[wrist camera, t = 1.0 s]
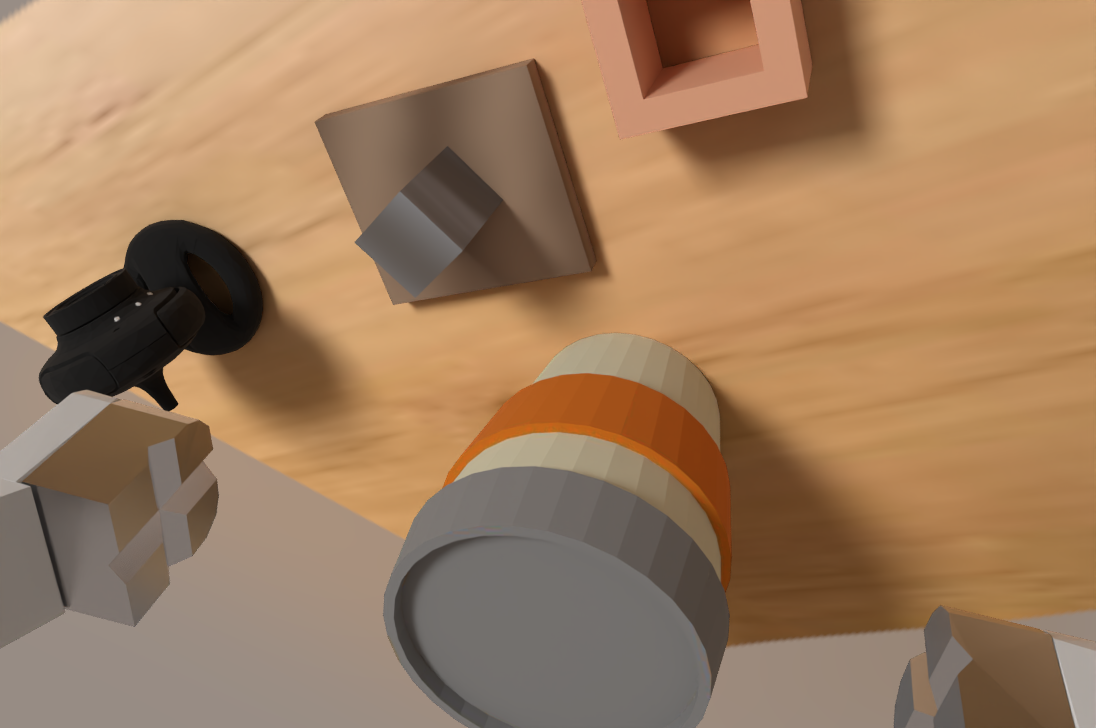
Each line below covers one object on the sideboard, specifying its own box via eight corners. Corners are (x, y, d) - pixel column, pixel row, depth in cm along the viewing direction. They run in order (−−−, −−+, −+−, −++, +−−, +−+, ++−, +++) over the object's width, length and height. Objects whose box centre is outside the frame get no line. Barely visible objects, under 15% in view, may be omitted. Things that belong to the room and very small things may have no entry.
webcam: (210, 193, 45) (67, 290, 37) (295, 322, 48) (181, 438, 40) (106, 245, 49) (-45, 343, 40) (191, 362, 51) (67, 476, 43)
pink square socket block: (778, -129, 32) (768, -115, 28) (812, 65, 34) (807, 97, 31) (594, -71, 34) (566, -52, 31) (640, 105, 37) (620, 139, 34)
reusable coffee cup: (566, 248, 41) (444, 455, 29) (814, 387, 42) (795, 647, 30) (466, 435, 49) (336, 661, 37) (677, 551, 49) (616, 813, 37)
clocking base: (533, 58, 37) (484, 104, 32) (596, 261, 41) (561, 329, 36) (325, 114, 41) (253, 163, 36) (401, 294, 45) (345, 360, 40)
